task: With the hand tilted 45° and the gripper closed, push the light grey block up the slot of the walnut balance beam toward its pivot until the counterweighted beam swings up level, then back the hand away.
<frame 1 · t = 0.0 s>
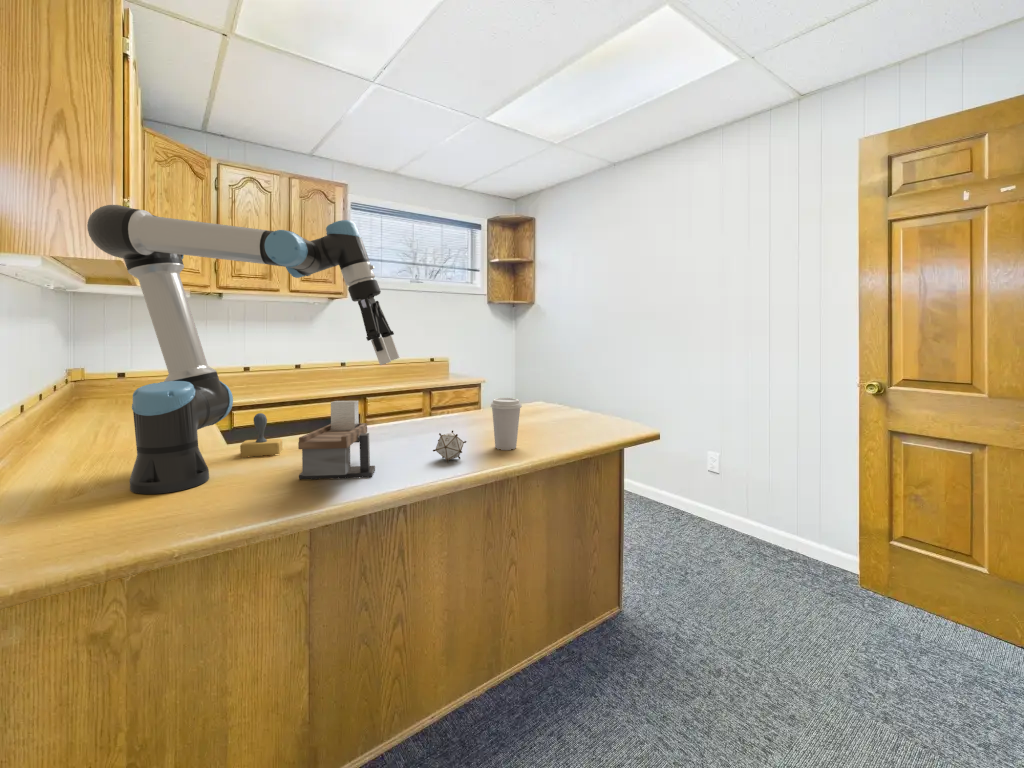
hand: (390, 361, 126), 28 cm above the countertop, tool tilted 20°, fingers open, 13 cm apart
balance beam: (337, 446, 120), point 7 cm above the countertop, hinge at -6.1°
pivot stand: (338, 474, 121), on the countertop
coffee cup: (505, 448, 149), on the countertop
rubber stamp: (262, 454, 140), on the countertop
game die: (449, 460, 135), on the countertop
light grey block: (345, 429, 130), point 9 cm above the countertop, tilted 6°
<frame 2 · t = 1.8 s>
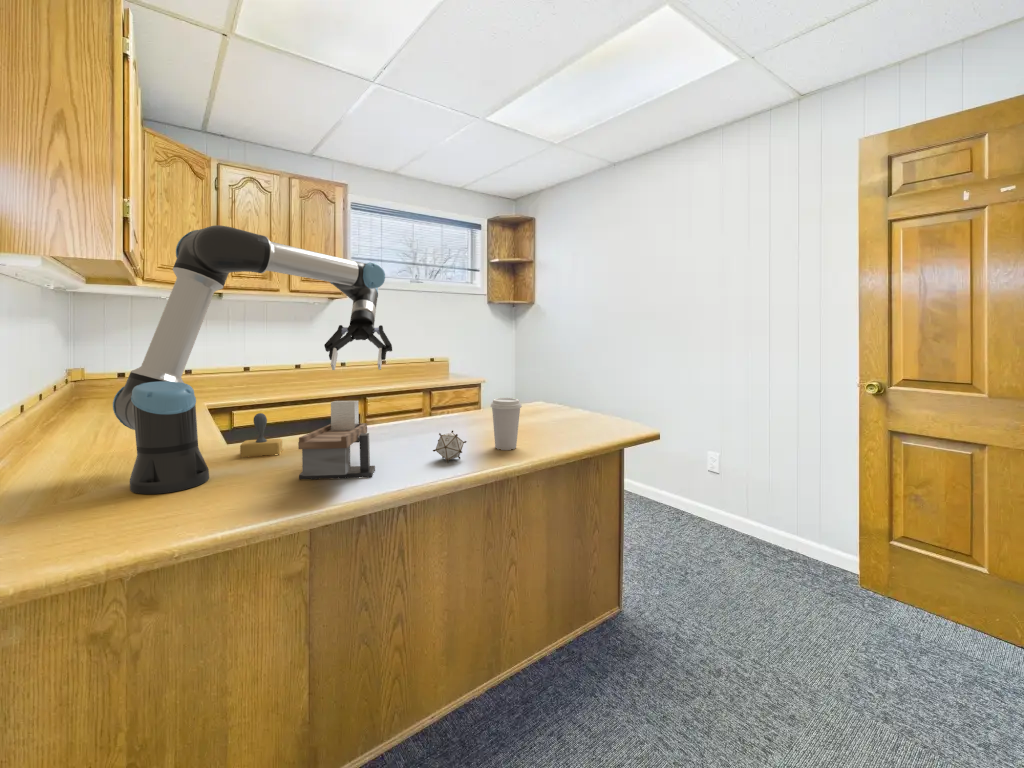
hand: (356, 367, 146), 25 cm above the countertop, tool tilted 45°, fingers open, 13 cm apart
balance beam: (337, 446, 120), point 7 cm above the countertop, hinge at -6.1°, touching light grey block
light grey block: (345, 429, 130), point 9 cm above the countertop, tilted 6°, touching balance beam
everything else where it was.
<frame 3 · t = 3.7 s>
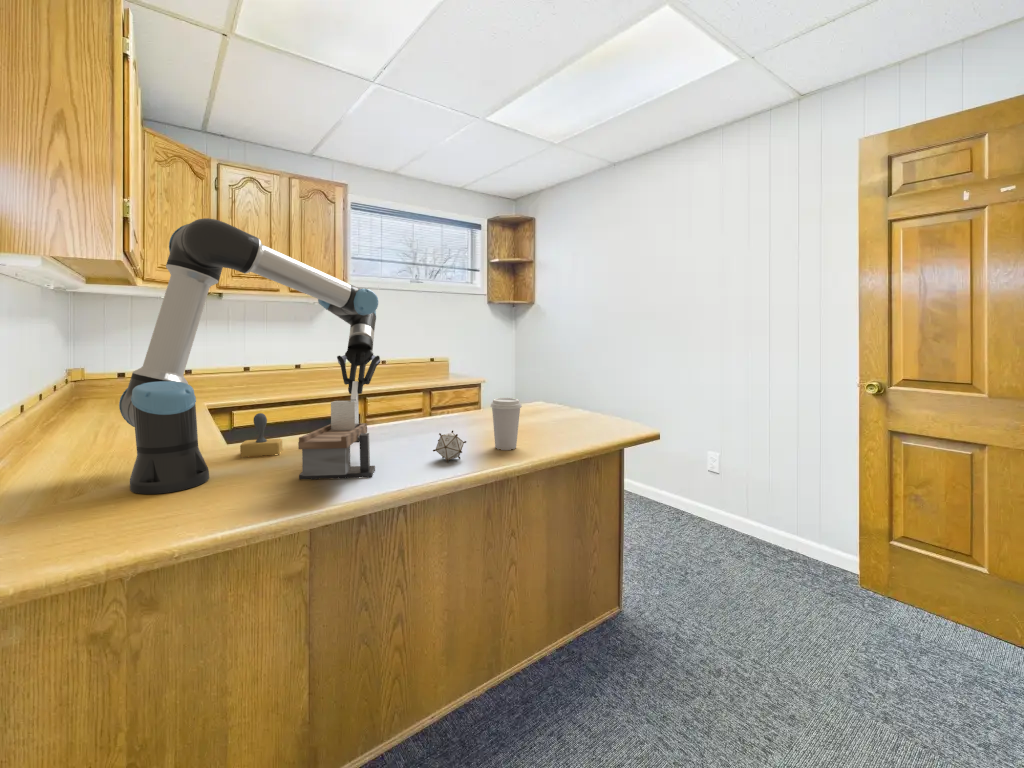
hand: (353, 401, 140), 15 cm above the countertop, tool tilted 45°, fingers closed
nothing on the countertop moved.
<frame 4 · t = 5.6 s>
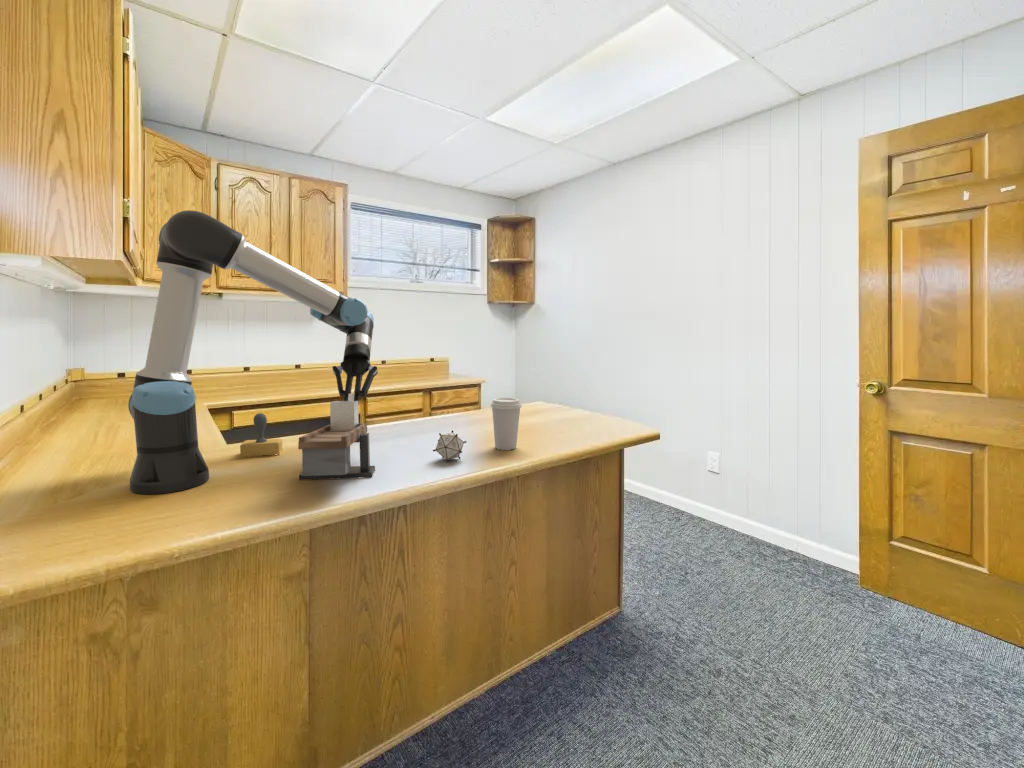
hand: (349, 415, 133), 12 cm above the countertop, tool tilted 45°, fingers closed
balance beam: (337, 446, 120), point 7 cm above the countertop, hinge at -6.1°
light grey block: (344, 429, 129), point 10 cm above the countertop, tilted 6°, touching gripper
everything else where it was.
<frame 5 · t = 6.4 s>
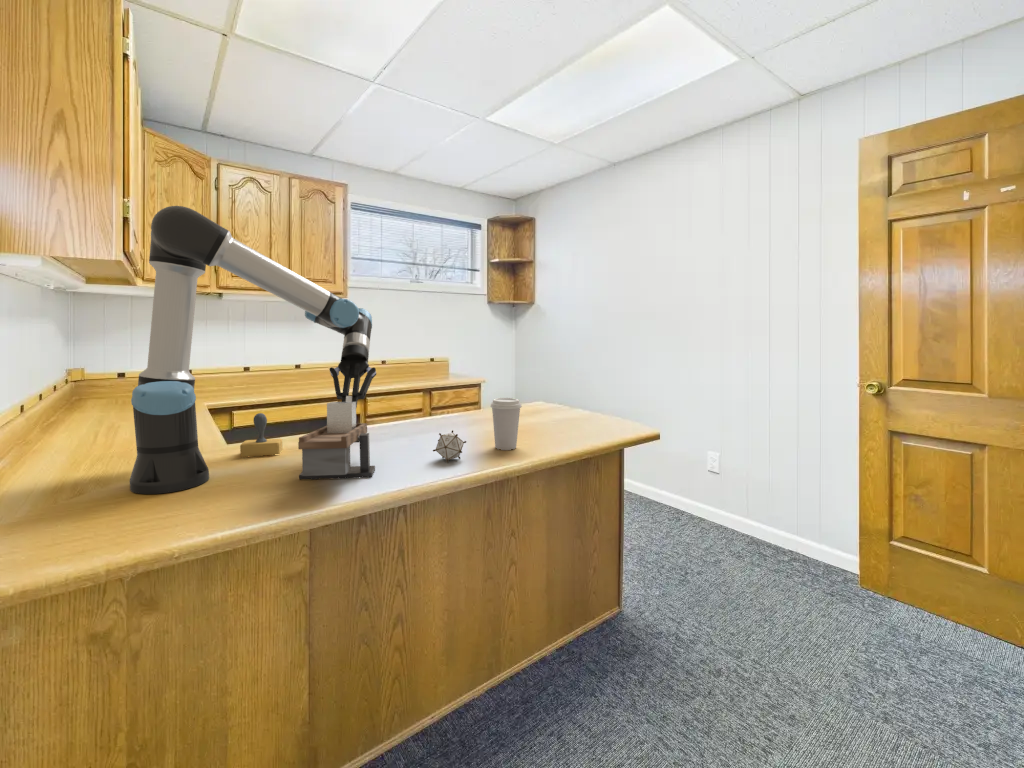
hand: (347, 418, 128), 12 cm above the countertop, tool tilted 45°, fingers closed
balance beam: (337, 446, 120), point 7 cm above the countertop, hinge at -6.1°, touching light grey block
light grey block: (342, 431, 124), point 10 cm above the countertop, tilted 6°, touching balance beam, gripper
everything else where it was.
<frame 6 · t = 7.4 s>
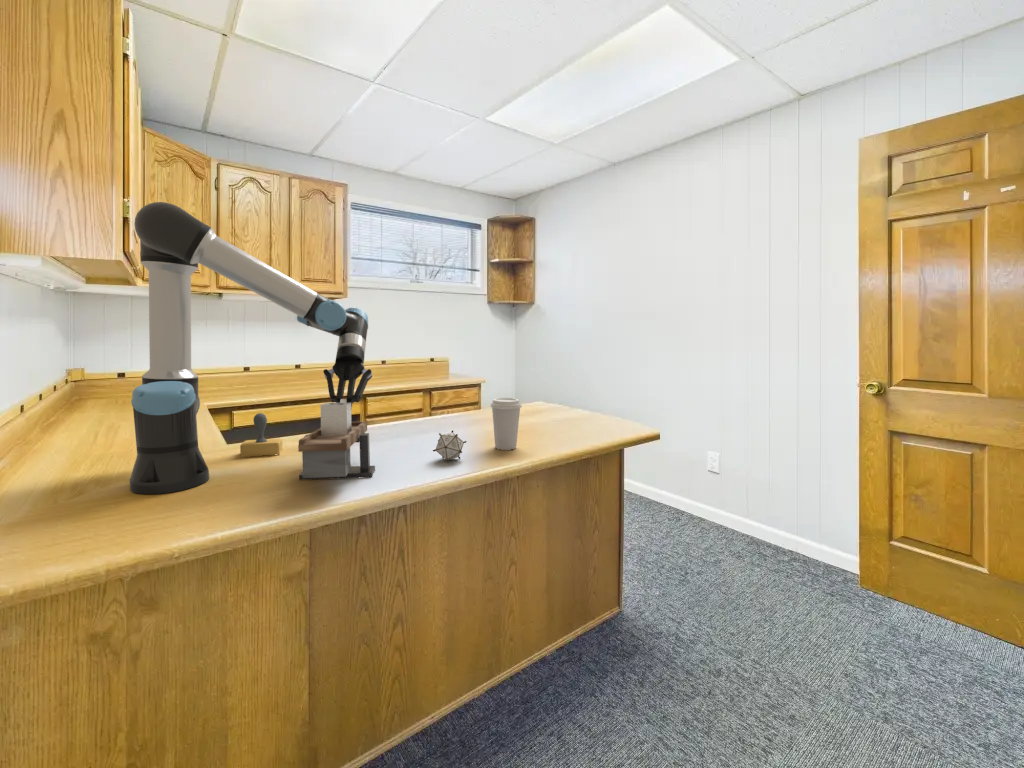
hand: (341, 422, 123), 12 cm above the countertop, tool tilted 45°, fingers closed
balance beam: (337, 446, 120), point 7 cm above the countertop, hinge at -4.2°
light grey block: (336, 434, 119), point 11 cm above the countertop, touching gripper
everything else where it was.
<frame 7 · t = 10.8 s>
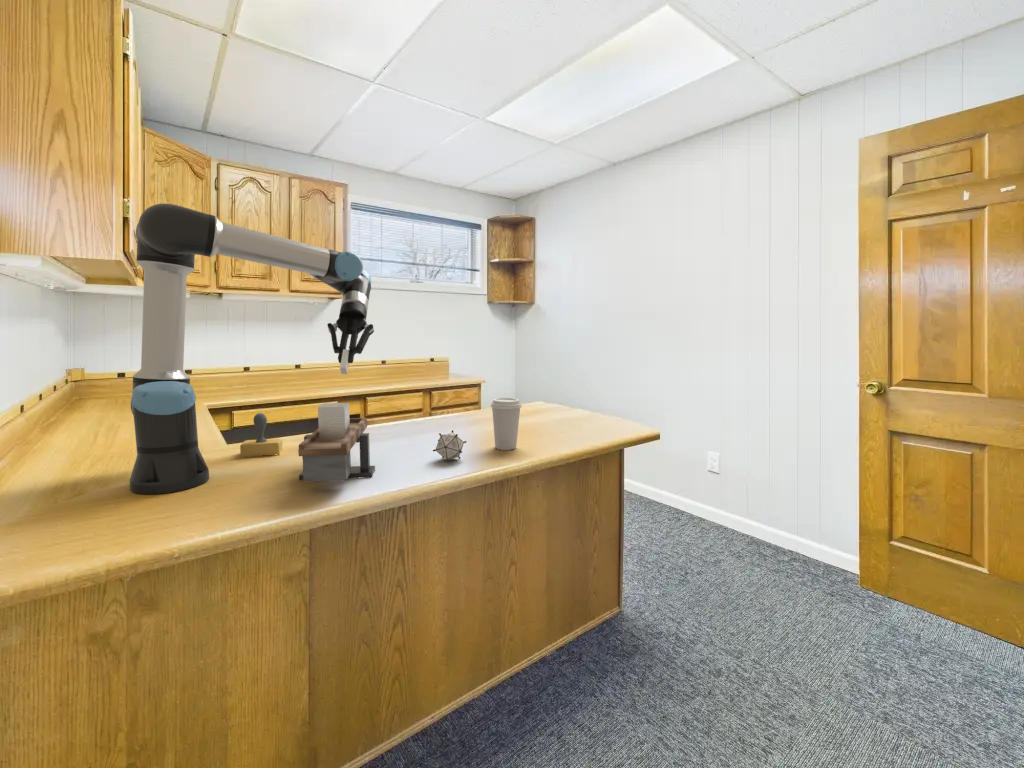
hand: (343, 370, 129), 25 cm above the countertop, tool tilted 45°, fingers closed
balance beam: (337, 446, 120), point 7 cm above the countertop, hinge at -0.3°, touching light grey block
light grey block: (334, 435, 118), point 11 cm above the countertop, touching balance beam
everything else where it was.
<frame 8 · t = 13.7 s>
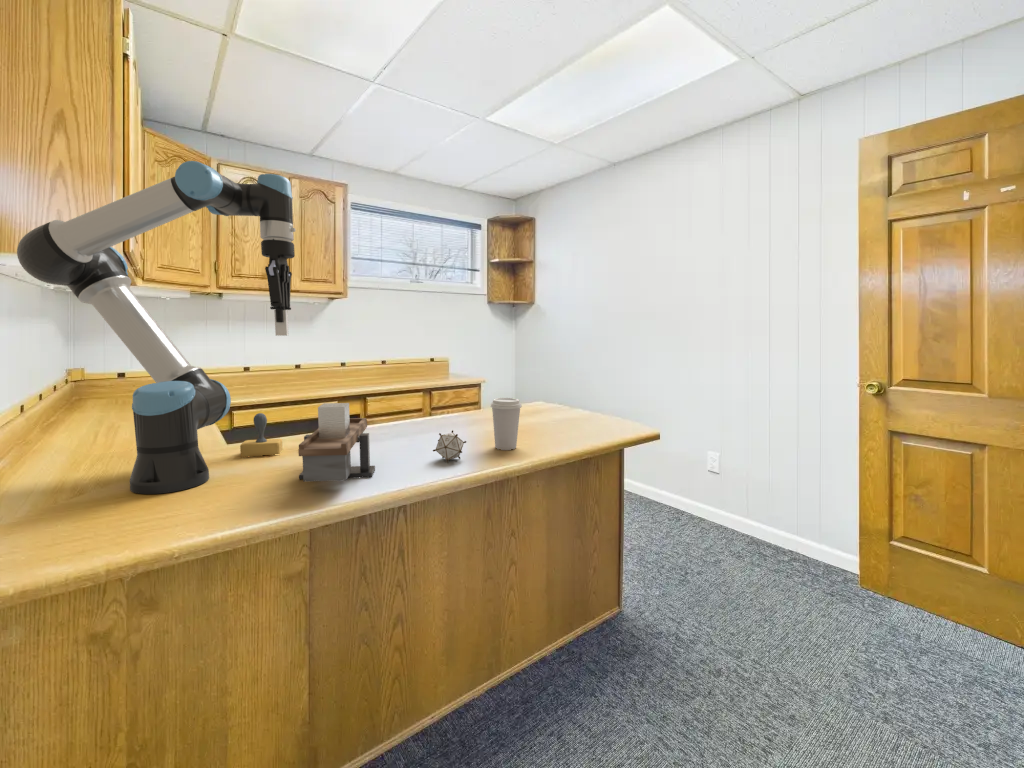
hand: (282, 335, 124), 34 cm above the countertop, tool pointing down, fingers closed
nothing on the countertop moved.
at the end: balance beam at +0° (first picture: -6°); light grey block inside the target area on the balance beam (1.9 cm from its centre), point 1.5 cm above the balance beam's base; light grey block tilted 0° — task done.
